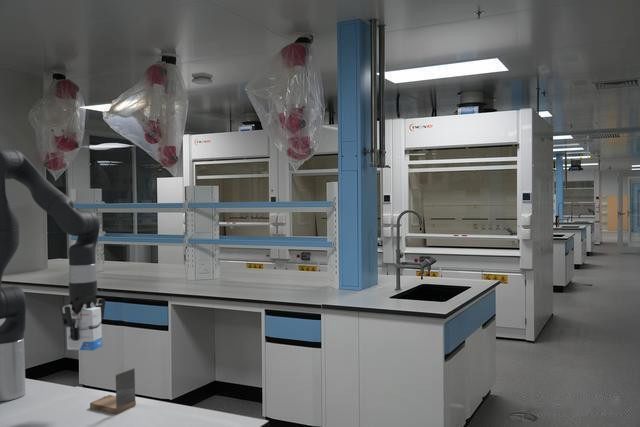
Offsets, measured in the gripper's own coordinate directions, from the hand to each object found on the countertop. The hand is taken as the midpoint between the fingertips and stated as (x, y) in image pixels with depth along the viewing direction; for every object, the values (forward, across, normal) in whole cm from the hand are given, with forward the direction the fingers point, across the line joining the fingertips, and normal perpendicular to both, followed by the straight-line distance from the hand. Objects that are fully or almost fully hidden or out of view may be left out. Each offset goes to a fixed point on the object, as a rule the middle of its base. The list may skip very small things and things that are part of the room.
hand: (84, 337), depth 161 cm
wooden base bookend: (+20, +2, -8) cm, 22 cm away
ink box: (+3, 0, 0) cm, 3 cm away
